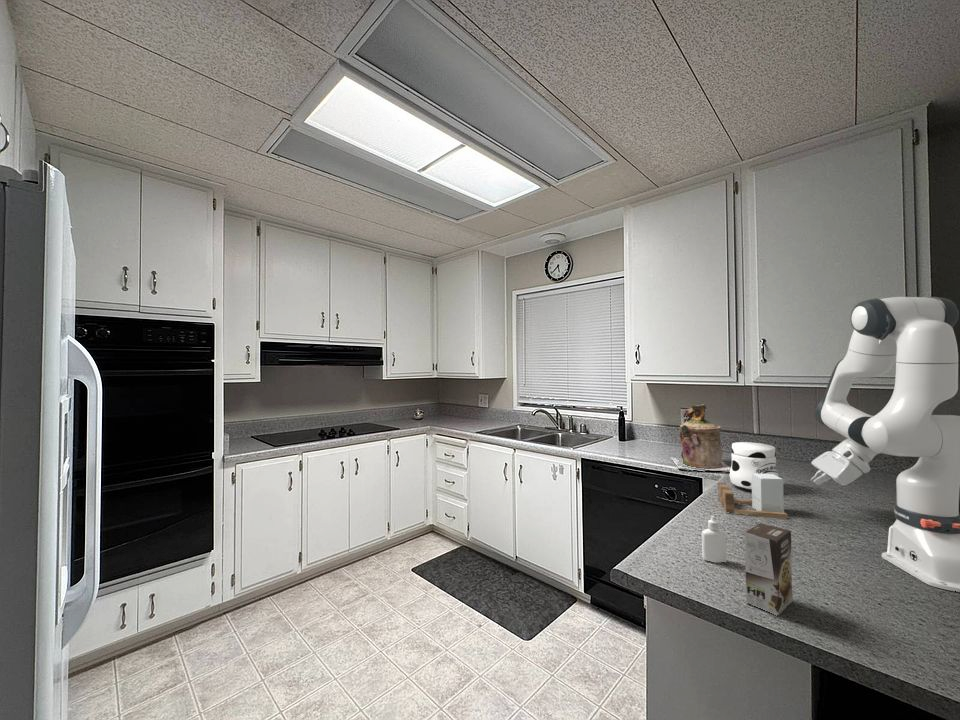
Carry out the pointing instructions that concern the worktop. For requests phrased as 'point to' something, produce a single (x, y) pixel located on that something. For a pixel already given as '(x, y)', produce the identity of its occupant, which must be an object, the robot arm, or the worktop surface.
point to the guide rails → (755, 512)
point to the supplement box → (767, 493)
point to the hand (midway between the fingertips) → (813, 482)
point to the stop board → (725, 497)
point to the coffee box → (768, 568)
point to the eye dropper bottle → (713, 542)
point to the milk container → (751, 462)
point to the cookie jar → (701, 442)
